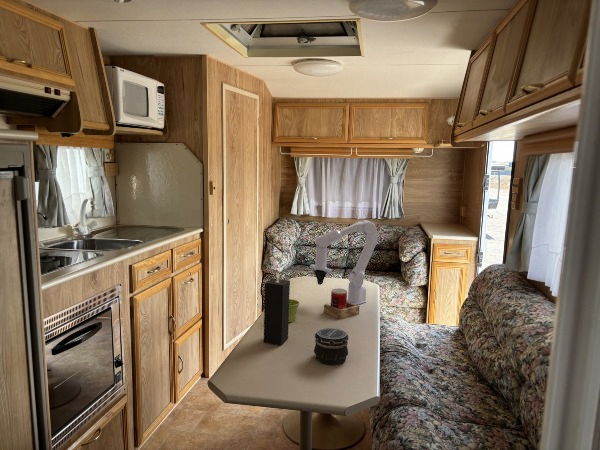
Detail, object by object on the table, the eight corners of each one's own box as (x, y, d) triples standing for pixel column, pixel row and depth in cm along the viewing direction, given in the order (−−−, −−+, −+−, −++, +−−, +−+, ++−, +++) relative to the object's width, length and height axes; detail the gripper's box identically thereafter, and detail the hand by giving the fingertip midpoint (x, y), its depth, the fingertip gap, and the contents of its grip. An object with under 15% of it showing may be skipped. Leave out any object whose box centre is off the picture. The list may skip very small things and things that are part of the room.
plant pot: (303, 320, 202) (303, 302, 201) (288, 325, 195) (289, 306, 194) (288, 315, 208) (289, 297, 207) (274, 320, 201) (274, 301, 200)
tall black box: (288, 338, 180) (290, 272, 176) (281, 346, 172) (283, 277, 169) (270, 336, 182) (272, 270, 178) (263, 342, 175) (264, 274, 171)
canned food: (347, 310, 218) (348, 289, 217) (344, 315, 210) (346, 293, 209) (331, 308, 220) (332, 287, 218) (329, 314, 212) (330, 292, 211)
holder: (342, 307, 222) (342, 300, 222) (359, 314, 213) (359, 306, 213) (323, 312, 214) (323, 304, 213) (340, 319, 205) (340, 311, 205)
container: (313, 350, 169) (314, 326, 168) (346, 352, 169) (347, 327, 167) (313, 365, 156) (314, 339, 155) (349, 367, 156) (350, 340, 155)
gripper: (306, 257, 230) (305, 282, 231) (325, 262, 219) (324, 288, 221) (316, 255, 234) (315, 280, 236) (335, 260, 223) (334, 286, 225)
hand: (320, 284), depth 229 cm, fingers closed
